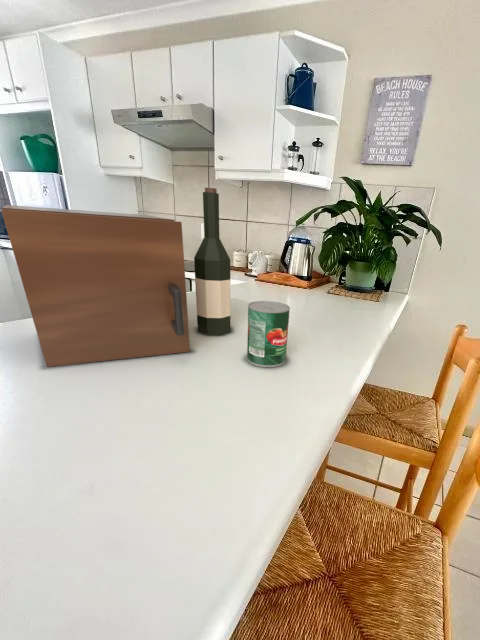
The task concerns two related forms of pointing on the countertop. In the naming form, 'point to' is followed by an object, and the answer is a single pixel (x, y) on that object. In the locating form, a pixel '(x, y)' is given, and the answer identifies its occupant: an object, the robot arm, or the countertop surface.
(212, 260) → the wine bottle
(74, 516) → the countertop surface
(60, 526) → the countertop surface
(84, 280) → the cupboard door
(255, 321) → the canned tomato
